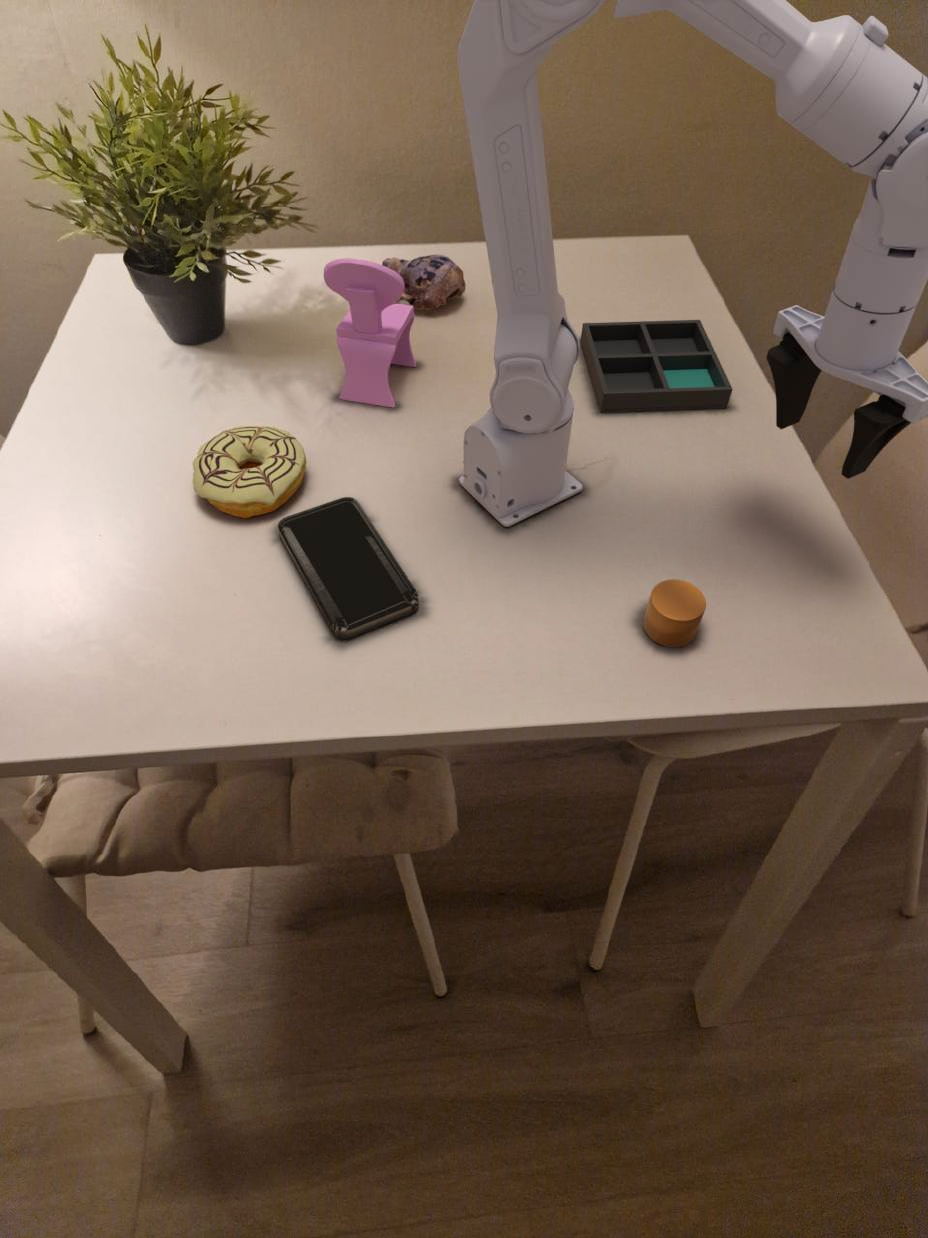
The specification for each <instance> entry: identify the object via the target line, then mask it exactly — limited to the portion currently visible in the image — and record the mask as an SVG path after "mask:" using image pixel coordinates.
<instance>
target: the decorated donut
mask: <svg viewBox="0 0 928 1238" xmlns="http://www.w3.org/2000/svg"><path fill="white" fill-rule="evenodd" d="M306 469H307V457H306V454H305V448H304V447H303V445H302V443H301V442H299V440H298V439H297V437H295V436H294V435H292V434H291V433H290V432H288V431H286V430H283V429H281V428H278V427H276V426H267V425H262V426H261V425H245V426H244V425H241V426H235V427H232V428H229V429H226V430H222V431H221V432H220V433H218V434H217V435H214V436H213V437H212V438H211V439H209V440H207V441H205V443H203V444H202V445H201V446H200V447H199V449H198V451H197V455H196V457H195V458H194V460H193V461H192V470H193V473H192V485H193V489H194V491H195V493H196V494H197V495H198V496H199V497H200V498H202V499H206V501H207V502H208V503H209V504H210V505H212V506H214V507H215V508H216V509H217V510H219V511H221V512H223V513H225V514H228V515H231V516H234V517H237V518H243V519H248V518H251V517H252V516H253V517H254V516H260V515H264V514H267V513H271V512H274V511H276V510H277V509H278V508H280V507H281V506H282V505H283V504H285V503H287V502H288V500H289V499H290V498H291V497H292V496H293V495H294V494H295V493H296V491H297V490H298V489H299V487H300V486H302V483H303V480H304V476H305V472H306Z"/></svg>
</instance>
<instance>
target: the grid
mask: <svg viewBox="0 0 928 1238" xmlns="http://www.w3.org/2000/svg"><path fill="white" fill-rule="evenodd" d="M580 335H581V336H580V340H579V342H580V346H581V350H582V352H583V356H584V359H585V363H586V367H587V370H588V373H589V378H590V380H591V384H592V388H593V391H594V394H595V398H596V401H597V405H598V409H599V413H602V414H603V413H628V412H629V413H630V412H653V411H654V412H656V411H657V412H658V411H659V412H660V411H685V410H686V411H687V410H712V409H713V410H715V409H716V410H717V409H727V408H728V407H729V403H730V399H731V396H732V393H733V390H734V389H733V387H732V384H731V383H730V381H729V379H728V376H727V374H726V372H725V369H724V368H723V365H722V364H721V361H720V359H719V357H718V355H717V352H716V351H715V348H714V347H713V345H712V343H711V340H710V338H709V335H708V334H707V332H706V330H705V327H704V325H703V323H702V320H701V319H680V320H679V319H675V320H649V321H648V320H646V321H645V320H643V321H613V322H612V321H611V322H583V323H582V327H581V334H580Z"/></svg>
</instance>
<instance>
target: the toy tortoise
mask: <svg viewBox="0 0 928 1238" xmlns="http://www.w3.org/2000/svg"><path fill="white" fill-rule="evenodd" d="M381 265H383V266H385V267H388V268H390V269H391V270H393V271H395V272H396V273H398V274H399V275H400V276H401V277H402V279H403V281H404V284H405V288H404V292H403V295H402V297H401V298H400V299H403V300H405V301H406V302H408V305H411V306H413V309H415V310H418V311H422V310H425V311H433V310H437V309H438V308H439V307H440V306H441V305H443V306H445V305H447V300H452V299H455V298H458V297H461V296H463V294H464V293H465V291H466V287H467V286H466V281H465V278H464V271H463V269H461V267H460V266H459V265H457V263H455V262H454V261H453V259H451V257H449V256H447V255H444V254H428V255H423V256H419V257H416V258H413V259H410V260H408V259H404V258H403V259H402V258H399V257H395V256H393V257H391V258H390V257H387V258H385V259H384V260H383V261H382V262H381Z"/></svg>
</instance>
